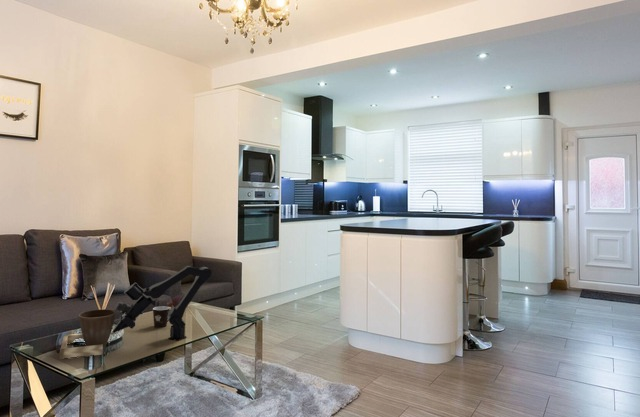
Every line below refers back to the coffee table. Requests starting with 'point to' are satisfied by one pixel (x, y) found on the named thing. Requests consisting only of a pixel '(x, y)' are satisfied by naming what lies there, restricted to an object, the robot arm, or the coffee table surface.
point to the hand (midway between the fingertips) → (113, 331)
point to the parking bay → (78, 348)
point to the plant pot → (96, 326)
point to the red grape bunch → (175, 301)
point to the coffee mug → (160, 316)
